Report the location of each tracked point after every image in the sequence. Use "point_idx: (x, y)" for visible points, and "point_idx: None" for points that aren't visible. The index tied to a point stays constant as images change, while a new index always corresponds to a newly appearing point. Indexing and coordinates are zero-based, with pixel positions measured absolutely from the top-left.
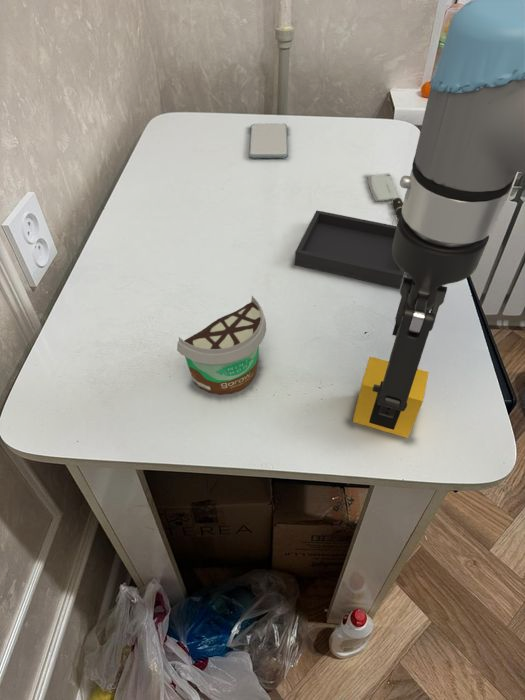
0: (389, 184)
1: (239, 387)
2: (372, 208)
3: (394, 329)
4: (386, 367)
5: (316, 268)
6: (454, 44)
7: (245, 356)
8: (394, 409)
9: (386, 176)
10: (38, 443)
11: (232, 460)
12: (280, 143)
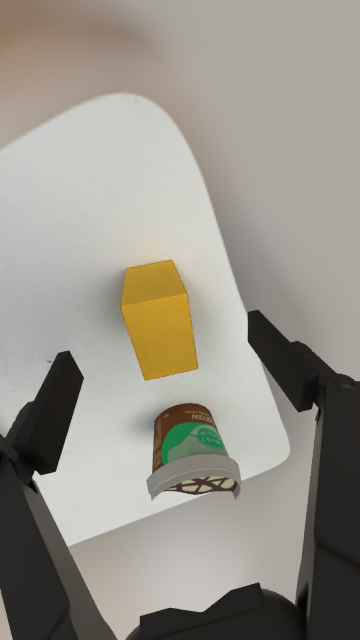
0: None
1: (200, 409)
2: None
3: (80, 387)
4: (151, 358)
5: (2, 439)
6: None
7: (216, 454)
8: (319, 360)
9: None
10: (285, 450)
11: (262, 375)
12: None
